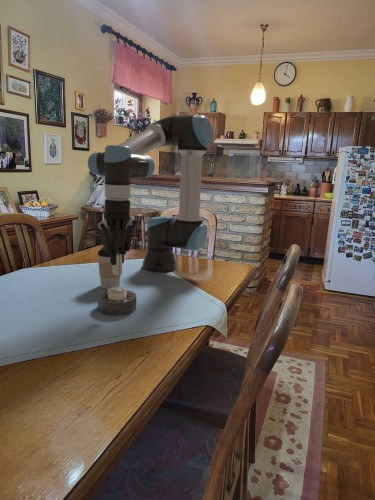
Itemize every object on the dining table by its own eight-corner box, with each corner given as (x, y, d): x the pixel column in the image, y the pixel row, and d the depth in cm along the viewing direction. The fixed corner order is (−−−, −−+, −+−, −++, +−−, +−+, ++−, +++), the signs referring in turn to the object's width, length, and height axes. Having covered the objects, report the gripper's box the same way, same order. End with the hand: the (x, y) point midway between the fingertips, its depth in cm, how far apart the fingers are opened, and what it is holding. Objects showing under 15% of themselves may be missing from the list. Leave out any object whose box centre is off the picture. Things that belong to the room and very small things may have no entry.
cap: (120, 302, 119) (120, 285, 118) (130, 308, 115) (130, 290, 113) (104, 306, 115) (104, 288, 114) (114, 313, 111) (114, 294, 109)
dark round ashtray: (122, 297, 123) (122, 287, 122) (143, 309, 115) (143, 297, 114) (91, 306, 115) (90, 294, 114) (110, 318, 107) (110, 306, 106)
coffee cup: (116, 291, 129) (117, 251, 126) (93, 288, 131) (93, 248, 127) (126, 283, 138) (126, 245, 134) (104, 281, 139) (103, 243, 136)
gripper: (129, 197, 114) (128, 267, 119) (90, 198, 105) (92, 274, 110) (143, 199, 109) (141, 273, 114) (104, 201, 100) (104, 281, 105)
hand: (117, 273), depth 112 cm, fingers closed
